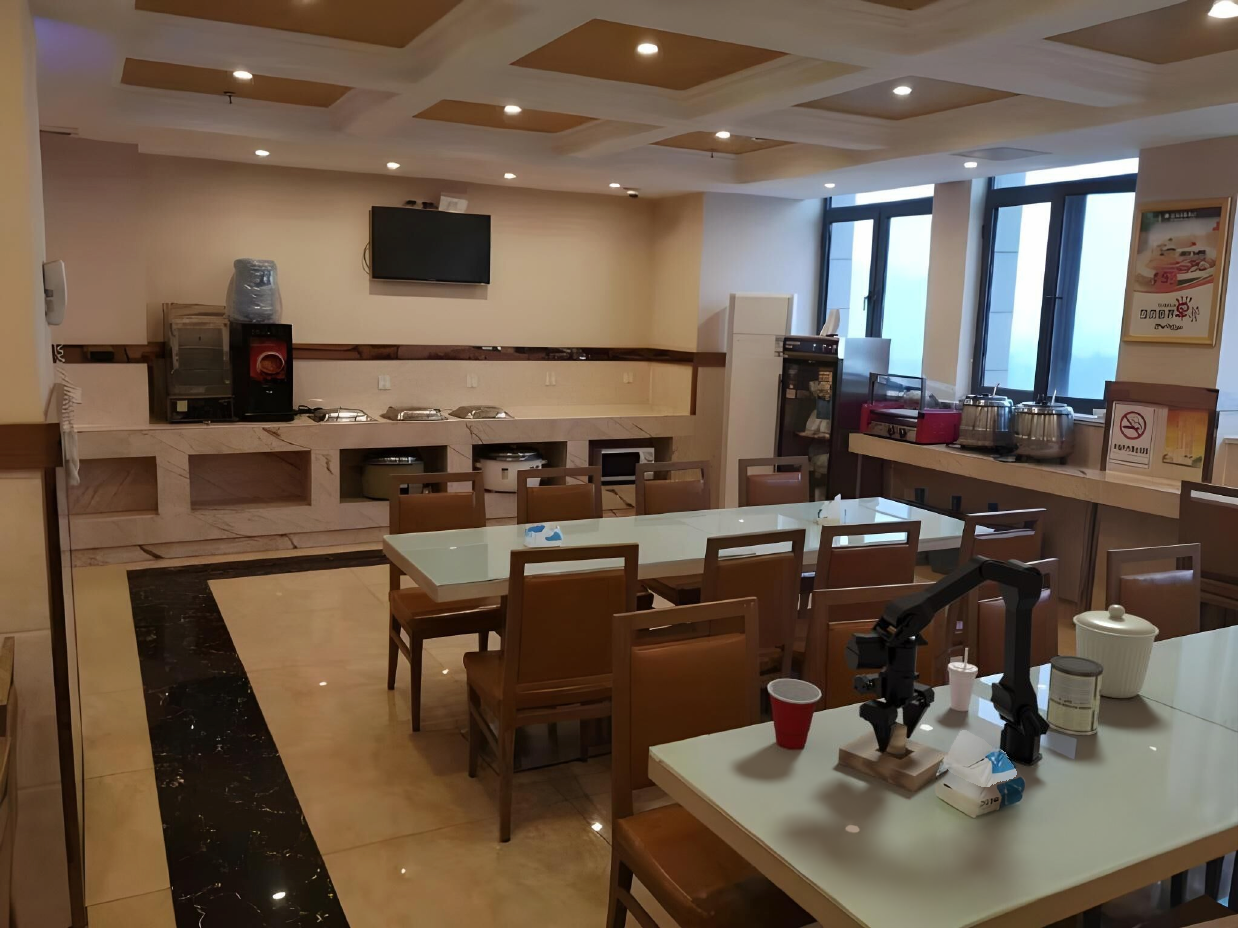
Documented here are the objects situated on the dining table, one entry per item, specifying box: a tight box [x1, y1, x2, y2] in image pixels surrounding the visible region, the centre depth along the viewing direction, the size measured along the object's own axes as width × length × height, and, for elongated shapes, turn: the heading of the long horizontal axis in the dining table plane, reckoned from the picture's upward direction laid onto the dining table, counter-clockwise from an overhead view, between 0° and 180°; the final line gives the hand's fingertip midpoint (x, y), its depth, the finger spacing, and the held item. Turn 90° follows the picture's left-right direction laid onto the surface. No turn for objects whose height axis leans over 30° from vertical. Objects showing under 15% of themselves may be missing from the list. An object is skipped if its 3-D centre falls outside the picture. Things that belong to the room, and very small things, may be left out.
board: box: [837, 729, 948, 792], centre depth 186 cm, size 16×14×3 cm
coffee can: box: [1045, 655, 1104, 736], centre depth 207 cm, size 10×10×14 cm
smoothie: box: [947, 647, 979, 712], centre depth 216 cm, size 6×6×14 cm
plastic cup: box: [767, 678, 822, 751], centre depth 194 cm, size 11×11×12 cm
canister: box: [1072, 604, 1160, 699], centre depth 228 cm, size 18×18×21 cm
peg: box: [884, 722, 907, 760], centre depth 186 cm, size 4×4×8 cm
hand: (894, 744), depth 186 cm, fingers open, 9 cm apart
